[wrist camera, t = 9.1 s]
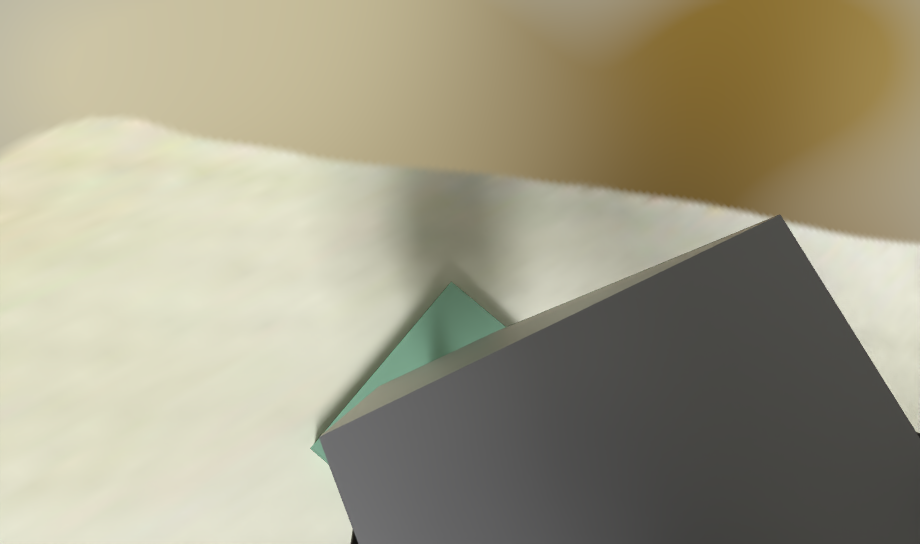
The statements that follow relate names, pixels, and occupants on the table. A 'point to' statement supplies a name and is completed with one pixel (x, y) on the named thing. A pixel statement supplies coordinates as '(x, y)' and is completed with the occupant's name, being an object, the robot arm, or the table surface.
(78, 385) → the table surface
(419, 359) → the board
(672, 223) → the table surface
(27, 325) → the table surface
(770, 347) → the block
